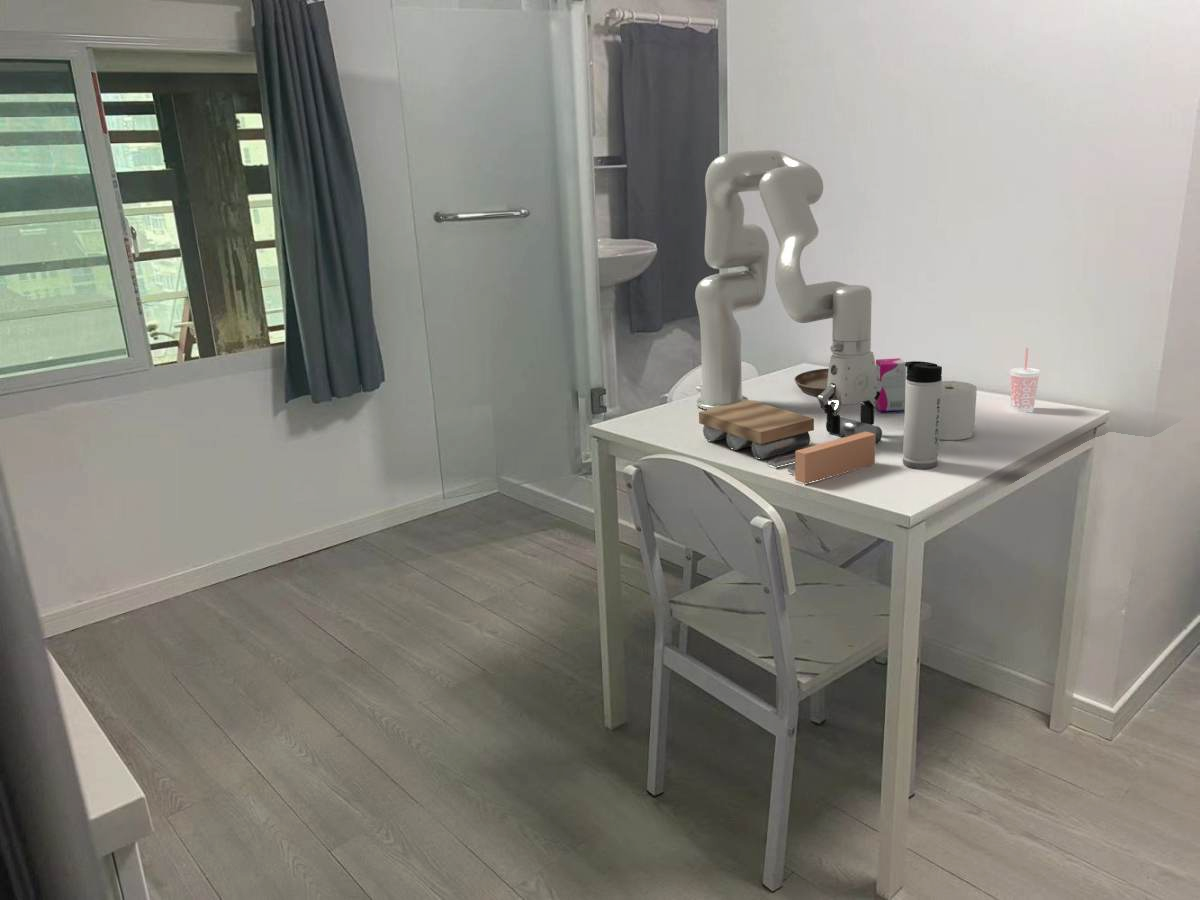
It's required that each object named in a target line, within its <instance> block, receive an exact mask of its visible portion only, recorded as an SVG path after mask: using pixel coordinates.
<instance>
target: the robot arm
mask: <svg viewBox="0 0 1200 900" xmlns="http://www.w3.org/2000/svg"><path fill="white" fill-rule="evenodd" d="M704 187H705V189H704V190H705V196H706V216H705V233H704V234H705V235H704V260H705V262H706V264H707V265H708V266H709V267H710V268H712V269H717V270H724V269H725V270H726V269H733V268H736V271H730V272H728V271H727V272H722V273H715V274H712V275H709V276H706V277H704V278H703V279H702V280H700V281H699V283H697V286H696V287H695V293H694V298H695V303H696V308H697V312H698V319H699V327H700V349H701V351H700V352H701V356H700V357H701V381H702V382H701V383H700V385H697V386H696V387H695V390H696V391H697V392H700V397H699V398H697V399H696V401H695V403H697V404H696V406H697V405H698V406H699V407H700V409H702V408H703V409H702V410H706V409H708V410H710V409H714V408H718V407H722V406H727V405H731V404H735V403H739V402H744V401H748V400H749V398H748V397H747V396H745V395H743V394H742V393H743V392H742V391H743V380H742V378H743V377H742V370H743V369H742V334H741V328H740V325H739V324H738V322H737V320H736V318H735V317H734V313H738V312H745V311H748V310H749V311H750V310H752V309H755V308H757V307H759V306H760V305H761V304H762V302H763V301H764V298H765V296H766V290H767V289H766V288H767V279H768V269H769V267H768V266H769V258H770V257H769V256H770V243H769V239H768V236H767V234H766V232H765V230H764V229H763V228H762V227H761V226H760V225H758V224H754V223H752V224H751V223H746V224H745V223H744V221H745V220H744V219H745V218H744V217H745V206H744V203H743V200H742V197H741V196H740V194H739V193H744V192H757V191H758V192H759V195H760V198H761V201H762V203H763V206H764V208H765V211H766V213H767V217H768V218H769V221H770V223H771V226H772V229H773V232H774V235H775V236H776V239H777V242H778V246H779V250H778V254H777V256H776V260H775V268H774V269H775V271H774V279H775V280H774V281H775V286H776V287H775V288H776V290H777V292H778V295H779V298H780V300H781V304H782V305H783V307H784V309H785V311H786V314H788V316H789V317H790V319H792V320H793V321H795V322H796V323H800V324H807V323H813V322H818V321H822V320H828V319H832V337H831V338H832V340H831V341H832V343H831V344H832V345H831V346H830V348H829V349H830V352H832V355H831V356H830V359H829V364H828V368H829V371H828V382H827V389H825V390H824V391H823V392H822V393H821V394H820V395H819V396H817V400H818V402H819V406H820V408H821V409H822V410H823V412H824V414H825V415H826V422H827V429H826V432H828V433H829V432H830V433H829V434H832V433H834V434H833V435H836V434H839V433H840V416H841V414H839V413H840V411H841V410H842V407H843V406H844V407H848V406H853V405H856V404H860V403H861V404H860V422H863V423H867V424H870V425H875V405H876V404H877V399H878V397H879V396H880V391H881V388H882V385H883V383H882V382H880V381H878V380H877V378H876V359H875V355H874V352H873V351H871V346H872V343H871V342H872V298H873V297H872V290H871V288H869V287H868V286H866V285H861V284H847V283H843V282H840V281H831V280H830V281H825V282H820V283H819V282H817V283H813V284H812V283H811V284H806V282H805V278H804V276H803V273H802V270H801V256H802V253H803V251H804V249H805V248H806V247H807V246H808V245H810V244H811V243H813V241H815V239H817V237H818V236H819V235H818V234H819V227H818V224H817V223H816V219H815V218H814V214H813V212H812V209H811V207H810V206H811V205H814V204H816V203H817V202H818V201H820V199H821V198H822V195H823V193H824V182H823V178H822V175H821V174H820V172H819V171H818V170H817V169H816V168H815V167H814V166H812V165H811V164H809V163H807V162H805V161H804V160H803V161H802V160H800V159H798V158H796V157H794V156H792V155H790V154H787V153H785V152H782V151H780V150H774V149H765V150H746V151H735V152H729V153H725V154H722V155H720V156H717V157H716V158H715V159H714V160H712V161H711V163H710V164H709V166H708V167H707V170H706V173H705V178H704ZM698 406H697V407H698ZM699 407H698V408H699Z"/></svg>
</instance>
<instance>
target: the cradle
mask: <svg viewBox="0 0 1200 900" xmlns="http://www.w3.org/2000/svg"><path fill="white" fill-rule="evenodd" d="M793 462H795V453H793V454H789V455H785V456H782V457H778V458H775V459H772V460H771V459H770V460H768V462H767V463H768V464H769V465H772V466H774V467H777V466H781V465H785V464H789V463H793ZM788 472H790V473H792V474H795V465H794V466H791V467H788V468H787V473H788Z"/></svg>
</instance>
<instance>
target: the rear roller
mask: <svg viewBox="0 0 1200 900" xmlns="http://www.w3.org/2000/svg"><path fill="white" fill-rule="evenodd" d="M702 432H703V436H704V438H705V439H707V440H706V441H708V440H710V441H711V442H714V441H718V440H722V438H723V439H727V438H726V437H727V434H728V433H726V432H723V431H720V430H717V429H715V428H712V427H709V426H706V425H703V428H702ZM710 441H709V442H710Z"/></svg>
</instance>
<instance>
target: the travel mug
mask: <svg viewBox="0 0 1200 900" xmlns="http://www.w3.org/2000/svg"><path fill="white" fill-rule="evenodd" d="M904 362H905V361H904ZM905 366H906V390H905V412H904V422H903V423H904V424H903V427H904V428H903V443H902V444H903V445H902V446H903V449H902V464H903V466H904V467H905V466H906V467H907V468H910V469H914V468H915V469H916V470H928V469H929V470H931V469H933V468H935V467H936V466H938V463H939V462H938V461H939V459H938V456H939V441H940V439H939V424H940V405H941V386H942V383H941V382H942V381H943V379H942V377H943V376H942V374H943V368H942V365H938V364H937V363H934V362H928V361H915V360H914V361H913V360H912V361H906V362H905Z"/></svg>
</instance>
